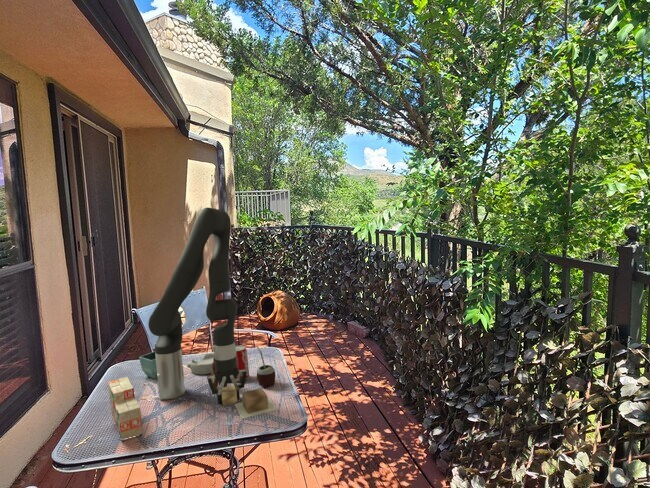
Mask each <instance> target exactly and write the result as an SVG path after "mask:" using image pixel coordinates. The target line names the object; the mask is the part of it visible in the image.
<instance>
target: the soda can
mask: <svg viewBox="0 0 650 488" xmlns="http://www.w3.org/2000/svg"><path fill="white" fill-rule="evenodd" d="M235 346H236V357H237V368H238V370H243V369H245V371H246V372H247V374H246V380H245V381H247V380H248V379H249V377H250V369H249V358H248V349H247V348H246V346H245V345H235ZM240 379H241V376H240V374H238V376H237V377H236V379H235V380H236V382H237V383H240Z"/></svg>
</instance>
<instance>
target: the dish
mask: <svg viewBox="0 0 650 488" xmlns="http://www.w3.org/2000/svg"><path fill="white" fill-rule="evenodd" d="M213 359H214V352H211V353H205V354H204V355H203V357H202V359H201V360H199V361H196V360H195V359H193V358H192V359H191V360H190V361H188V362H187V363H186V367H187V368H188V369H190V371H191V372H192V373H193V374H195V375H209V374H211V373H212V371H213V369H212V363H213Z"/></svg>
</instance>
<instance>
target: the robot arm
mask: <svg viewBox="0 0 650 488" xmlns="http://www.w3.org/2000/svg"><path fill="white" fill-rule="evenodd" d="M231 225H232V222H231V216H230V215H229V214H228V212H226V211H224V210H222V209H218V208H214V207H205V208H202V209H201V210H200V211H199V212H198V214H197V215H196V219H195V220H194V223H193V226H192V229H191V232H190V235H189V237H188V240H187V242H186V244H185V247H184V249H183V251H182V254H181V256H180V257H179V260H178V262H177V263H176V265H175V267H174V270H173V272H172V275H171V276H170V279H169V281H168V283H167V285H166V288H165V289H164V292H163V295H162V296H161V299H160V300H159V302H158V304H157V305H156V307H155V308H154V310H153V312H152V313H151V314H150V316H149V318H148V323H147V324H148V329H149V332H150V333H151V334H152V335H153V336H156V337H158V338H157V341H156V343H155V345H154V351H155V355H156V365H157V377H156V378H157V385H158V386H157V387H158V395H159V396H158V397H159V400H161V401H162V400H173V399H176V398H180V397H181V396H183V395H184V394H185V393H186V385H185V375H184V364H183V352H182V351H183V350H182V341H183V321H182V316H181V313H180V311H179V309H180V307H181V305H182V304H183V302H184V301H185V300H186V298H188V296H189V295H190V294H191V292H192V291H193V290H194V289H195V287H196V285H197V284H198V282H199V280H200V278H201V276H202V274H203V272H204V267H205V259H204V258H205V256H204V255H205V254H204V251H205V247H206V245H207V243H208V240H209V238H210V236H211V235H213V239H214V241H213V242H214V248H213V253H212V257H211V260H210V262H209V265H208V282H209V293H208V300H207V303H206V304H207V305H206V310H205V315H206V317H207V319H208V320H209V321H211V322H217V321H224V320H226V322H225V323H224V324H221V325H218V326H216V327H215V328H214V329H213V332H212V333H213V334H212V335H213V344H214V345H213V347H214V348H213V353H214V358H215V370H216V371H215V374H214V375H213V376H211V377H210V376H209V375H208V376H207V377H206V380H207V383H208V385H209V388H210V392H211V393H212V395H216V397H217V400H216V401H217V403H218V404H220V405H223V404H222V394H221V392H222V389H223V386H224V385H226V384H227V385H228V384H232V385H234V387H235V389H236V391H237V401H238V400H239V399H240V398H241V397H240V396H241V395H240V394H241V393H240V390H241V389H243V388H245V385H246V381H247V380H246V374H247V372H246V371H245V369H243V370H238V368H237V357H236V346H237V345H236V343H235V342H236V341H235V322H236V318H237V314H238V304H237V301H236V300H235V299H233V298H226V299H225V298H224V299H217V297H218V296H219V295H221V294H223V293H228V292H229V291H230V290H231V279H230V269H229V268H230V266H229V262H230V261H229V256H230V254H229V253H230V240H231V227H232V226H231ZM216 299H217V300H216ZM238 374H240V376H241V379H240V382H239V384H238V382H236V380H235V379H236V377H237V376H238ZM215 378H216V379H217V380H218V381H219V382H218V387H217V389H214V386H213V383H214V379H215Z"/></svg>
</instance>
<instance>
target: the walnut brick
mask: <svg viewBox="0 0 650 488" xmlns="http://www.w3.org/2000/svg"><path fill="white" fill-rule="evenodd" d="M241 395H242V397H241V398H242V402H243V406H244V408H245V409H246V411H247V413H248V414H249V413H253V412H257V411H261V410H265V409H268V397H269V396H268V395H267V393H266V392H265V390H264V388H263V387H259V388H255V389H252V390H251V389H250V390H246V391H242V394H241ZM267 396H268V397H267Z"/></svg>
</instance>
